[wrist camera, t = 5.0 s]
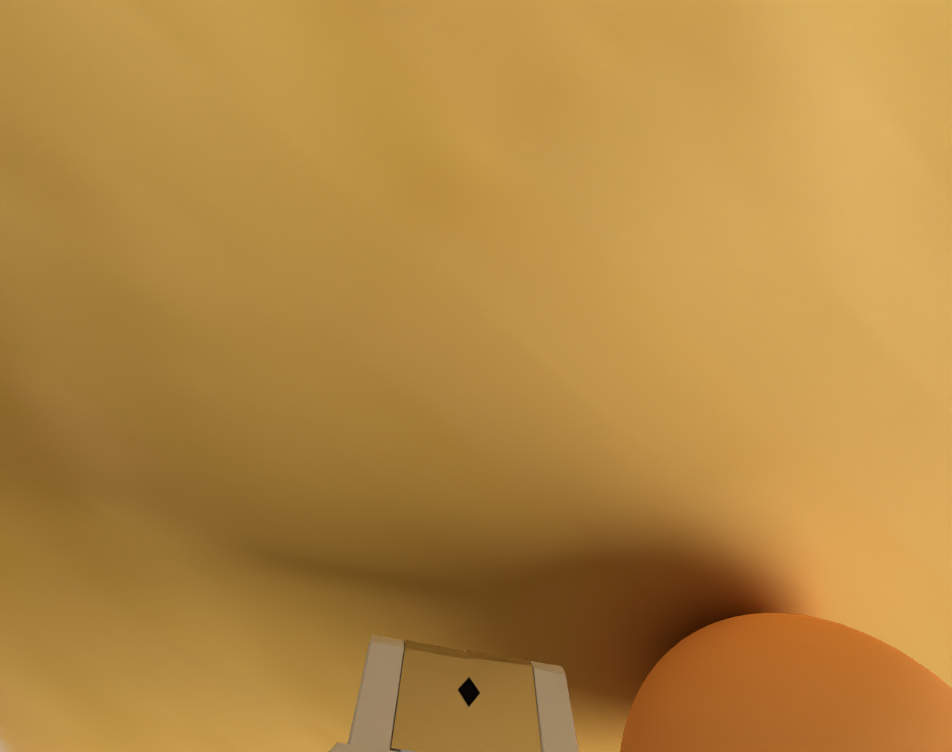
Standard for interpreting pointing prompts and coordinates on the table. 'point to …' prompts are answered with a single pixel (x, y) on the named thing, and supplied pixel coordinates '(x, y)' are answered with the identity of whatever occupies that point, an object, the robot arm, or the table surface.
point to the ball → (788, 692)
